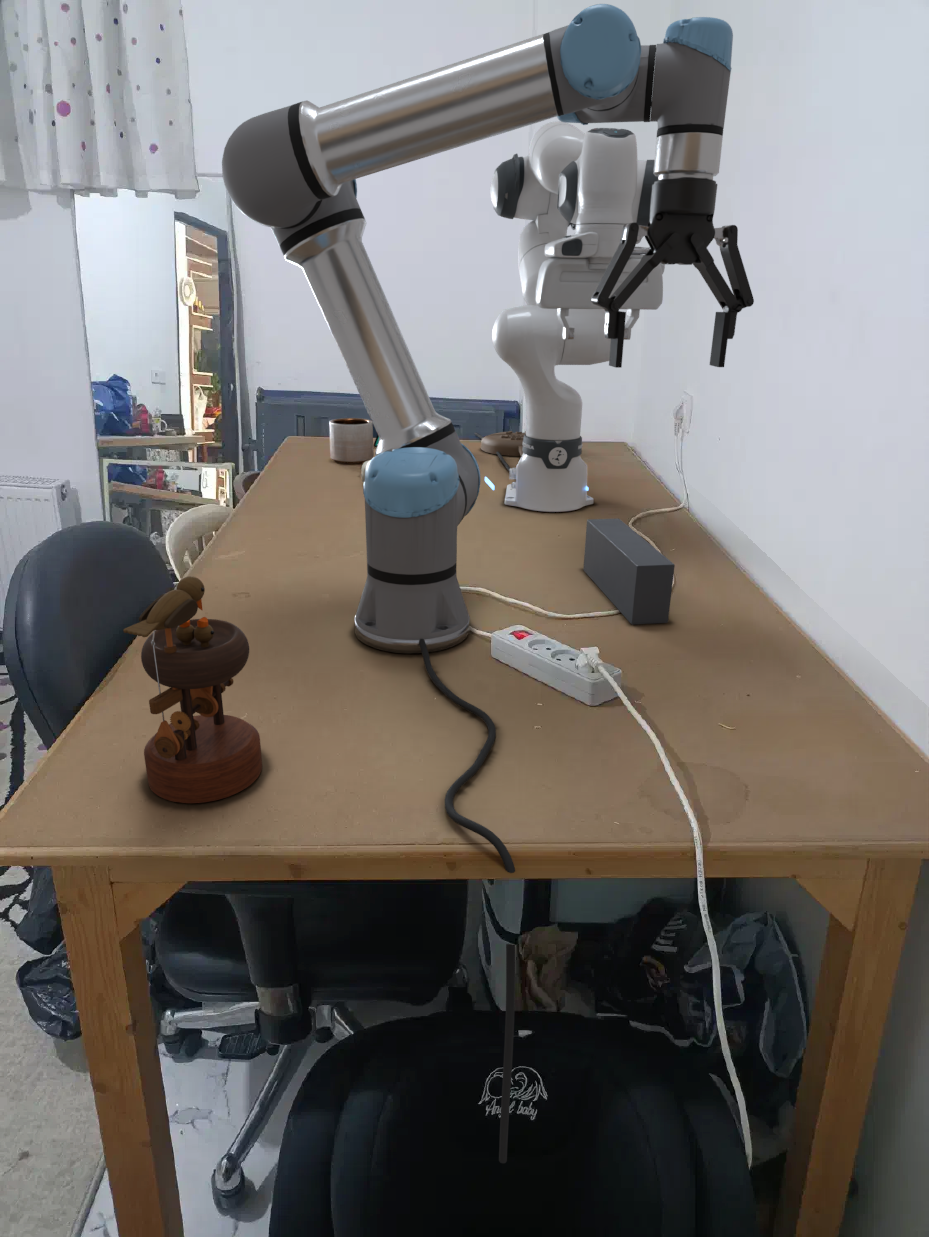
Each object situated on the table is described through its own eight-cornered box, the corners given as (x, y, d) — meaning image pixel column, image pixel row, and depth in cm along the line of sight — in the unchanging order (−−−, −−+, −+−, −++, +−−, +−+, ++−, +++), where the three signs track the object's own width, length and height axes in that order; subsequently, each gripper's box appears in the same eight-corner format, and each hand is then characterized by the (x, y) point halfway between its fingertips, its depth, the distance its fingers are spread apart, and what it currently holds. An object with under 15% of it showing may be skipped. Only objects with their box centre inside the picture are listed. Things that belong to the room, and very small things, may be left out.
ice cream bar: (486, 465, 210) (486, 448, 209) (479, 444, 236) (479, 428, 235) (570, 465, 211) (571, 449, 210) (554, 444, 237) (554, 429, 236)
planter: (327, 456, 217) (325, 418, 214) (369, 454, 220) (368, 417, 217) (334, 465, 208) (332, 425, 204) (377, 463, 211) (376, 424, 207)
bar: (668, 622, 117) (674, 564, 114) (631, 624, 117) (637, 565, 113) (614, 568, 138) (618, 518, 135) (583, 570, 138) (586, 519, 134)
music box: (239, 818, 74) (196, 604, 66) (121, 817, 75) (65, 608, 68) (291, 731, 88) (261, 546, 80) (191, 731, 89) (151, 550, 82)
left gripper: (768, 185, 105) (744, 363, 113) (573, 179, 101) (563, 363, 109) (799, 179, 98) (772, 369, 106) (592, 172, 94) (580, 369, 102)
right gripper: (659, 247, 136) (650, 338, 141) (535, 245, 133) (531, 337, 138) (674, 247, 130) (664, 341, 135) (545, 244, 127) (540, 340, 132)
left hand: (666, 366), depth 108 cm, fingers open, 13 cm apart
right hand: (596, 339), depth 137 cm, fingers open, 8 cm apart
